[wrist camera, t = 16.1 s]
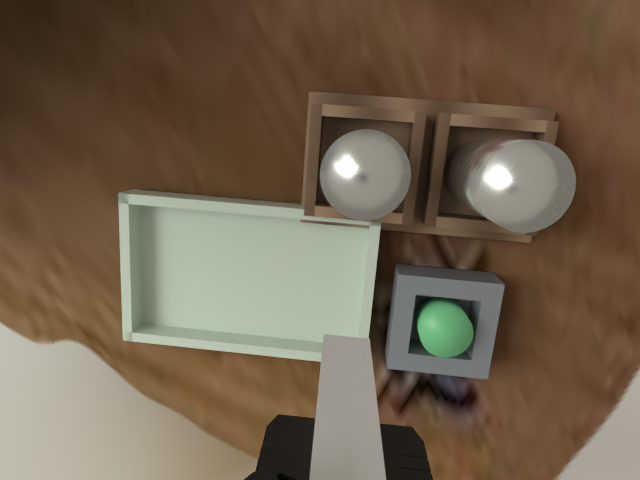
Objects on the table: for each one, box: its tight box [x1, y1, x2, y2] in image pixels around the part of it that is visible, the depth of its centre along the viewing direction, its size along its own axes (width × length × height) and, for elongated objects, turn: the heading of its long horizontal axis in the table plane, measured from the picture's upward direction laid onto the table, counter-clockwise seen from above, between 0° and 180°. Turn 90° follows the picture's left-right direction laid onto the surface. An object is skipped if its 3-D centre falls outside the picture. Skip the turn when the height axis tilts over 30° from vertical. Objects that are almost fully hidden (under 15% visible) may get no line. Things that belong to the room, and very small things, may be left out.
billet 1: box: [320, 129, 411, 220], centre depth 30 cm, size 5×5×10 cm
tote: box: [118, 189, 381, 362], centre depth 37 cm, size 21×13×2 cm, turn 86°
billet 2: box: [444, 140, 576, 233], centre depth 29 cm, size 5×5×10 cm
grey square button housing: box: [385, 263, 505, 379], centre depth 37 cm, size 8×8×3 cm
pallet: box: [300, 91, 559, 243], centre depth 34 cm, size 18×10×3 cm, turn 86°
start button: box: [415, 296, 473, 358], centre depth 36 cm, size 4×4×3 cm
